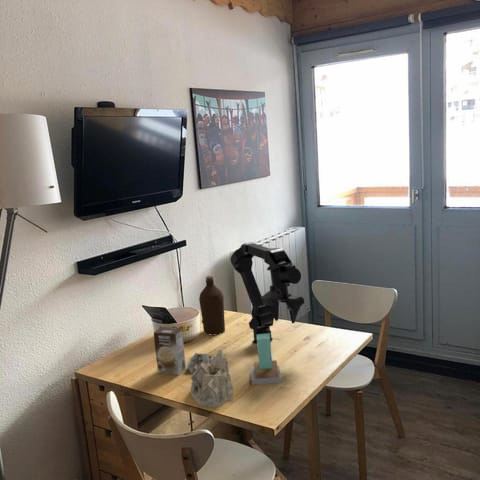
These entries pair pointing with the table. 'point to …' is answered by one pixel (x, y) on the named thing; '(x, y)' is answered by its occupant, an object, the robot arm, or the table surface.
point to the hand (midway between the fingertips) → (284, 321)
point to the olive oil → (212, 308)
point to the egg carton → (195, 359)
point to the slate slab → (265, 380)
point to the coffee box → (169, 350)
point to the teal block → (264, 351)
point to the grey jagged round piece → (212, 382)
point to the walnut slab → (266, 371)
